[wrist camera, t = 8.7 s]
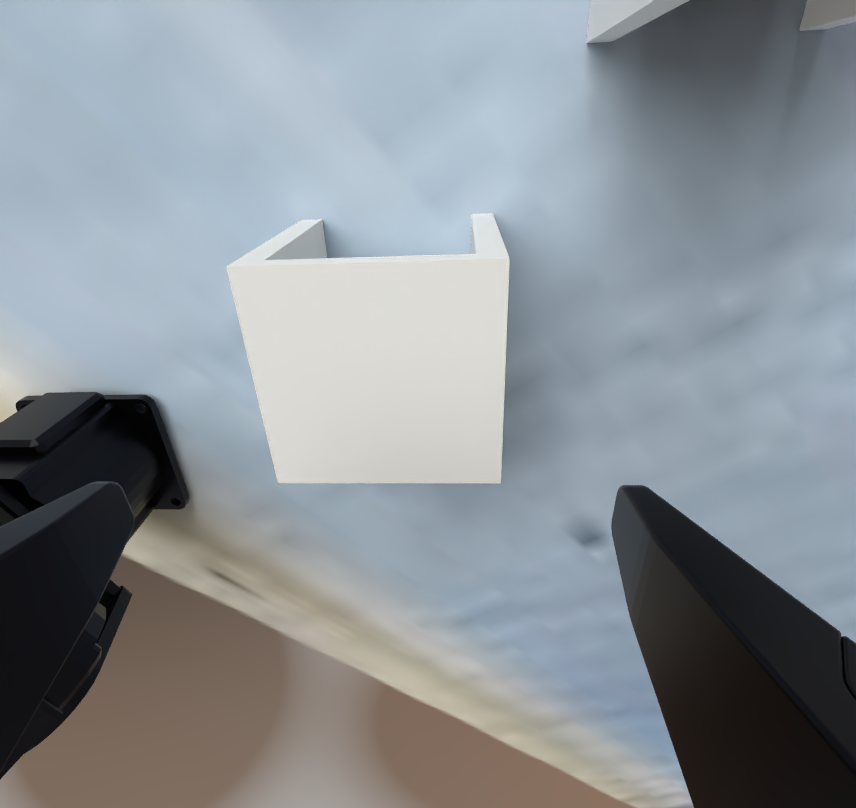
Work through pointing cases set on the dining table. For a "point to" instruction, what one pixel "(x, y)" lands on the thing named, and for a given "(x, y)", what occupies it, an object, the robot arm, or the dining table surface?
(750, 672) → the robot arm
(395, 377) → the cover
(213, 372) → the dining table surface
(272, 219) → the dining table surface
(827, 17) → the cover
